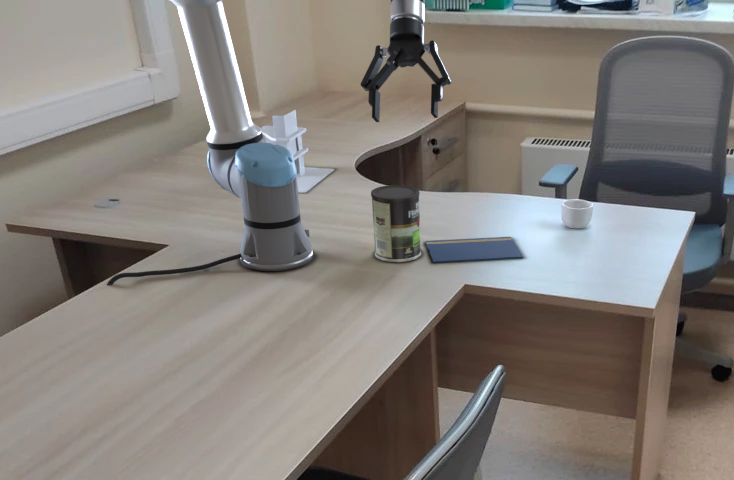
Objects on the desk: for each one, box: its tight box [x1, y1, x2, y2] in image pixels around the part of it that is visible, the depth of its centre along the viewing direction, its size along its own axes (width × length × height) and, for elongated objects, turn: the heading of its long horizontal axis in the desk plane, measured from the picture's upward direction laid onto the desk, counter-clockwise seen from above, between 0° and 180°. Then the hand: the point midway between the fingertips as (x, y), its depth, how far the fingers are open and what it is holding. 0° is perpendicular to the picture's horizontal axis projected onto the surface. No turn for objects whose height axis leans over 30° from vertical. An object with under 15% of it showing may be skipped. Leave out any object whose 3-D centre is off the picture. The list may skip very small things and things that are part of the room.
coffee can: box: [370, 184, 422, 263], centre depth 183 cm, size 10×10×14 cm
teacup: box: [560, 198, 594, 230], centre depth 205 cm, size 10×8×5 cm
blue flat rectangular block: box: [425, 236, 524, 264], centre depth 189 cm, size 20×13×1 cm, turn 102°
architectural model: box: [260, 109, 336, 194], centre depth 231 cm, size 23×24×18 cm
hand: (404, 117), depth 185 cm, fingers open, 13 cm apart
